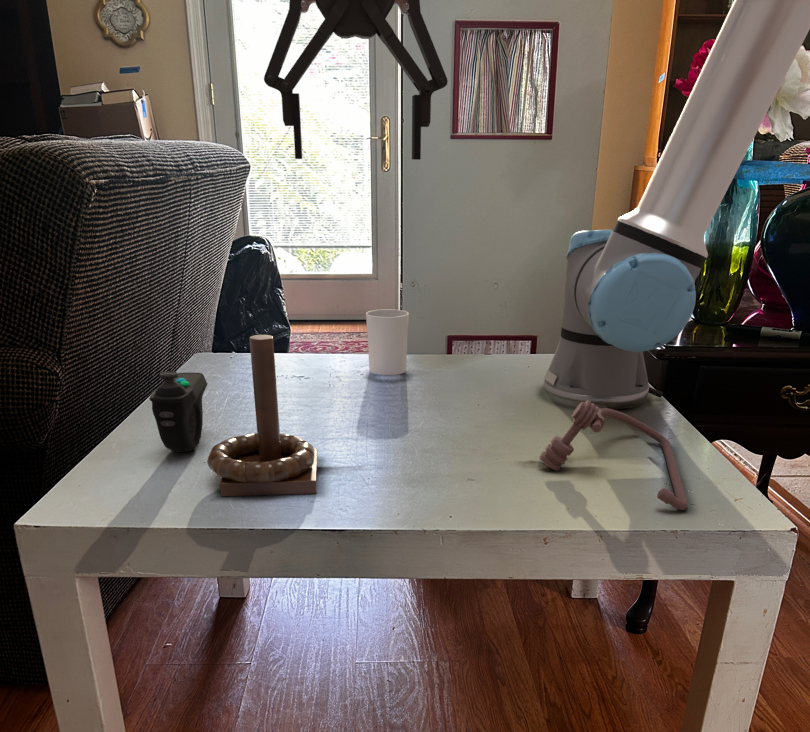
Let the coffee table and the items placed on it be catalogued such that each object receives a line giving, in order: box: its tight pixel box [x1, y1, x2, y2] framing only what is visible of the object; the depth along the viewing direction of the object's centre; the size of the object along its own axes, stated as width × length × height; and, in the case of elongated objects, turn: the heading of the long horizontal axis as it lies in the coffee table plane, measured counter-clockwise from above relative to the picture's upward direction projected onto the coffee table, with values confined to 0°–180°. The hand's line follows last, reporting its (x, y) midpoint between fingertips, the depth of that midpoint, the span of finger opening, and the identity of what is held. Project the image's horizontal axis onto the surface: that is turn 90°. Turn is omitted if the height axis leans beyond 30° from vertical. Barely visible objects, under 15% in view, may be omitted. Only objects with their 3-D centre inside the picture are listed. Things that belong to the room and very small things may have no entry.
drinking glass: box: [365, 308, 410, 376], centre depth 124 cm, size 7×7×10 cm
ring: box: [206, 432, 315, 483], centre depth 86 cm, size 11×11×2 cm
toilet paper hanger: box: [539, 400, 689, 511], centre depth 89 cm, size 22×8×14 cm
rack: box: [219, 334, 318, 497], centre depth 84 cm, size 10×10×16 cm
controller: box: [149, 370, 208, 452], centre depth 94 cm, size 4×12×10 cm, turn 179°
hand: (357, 159), depth 91 cm, fingers open, 13 cm apart
